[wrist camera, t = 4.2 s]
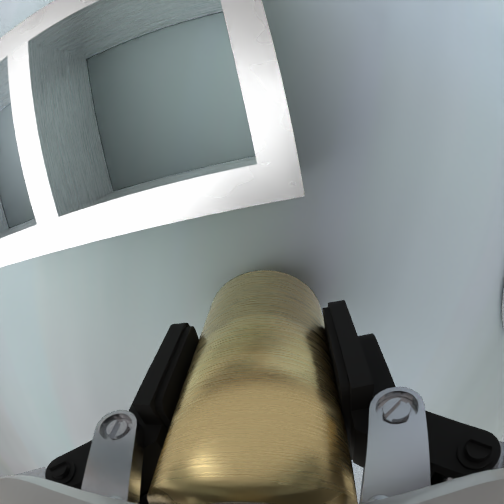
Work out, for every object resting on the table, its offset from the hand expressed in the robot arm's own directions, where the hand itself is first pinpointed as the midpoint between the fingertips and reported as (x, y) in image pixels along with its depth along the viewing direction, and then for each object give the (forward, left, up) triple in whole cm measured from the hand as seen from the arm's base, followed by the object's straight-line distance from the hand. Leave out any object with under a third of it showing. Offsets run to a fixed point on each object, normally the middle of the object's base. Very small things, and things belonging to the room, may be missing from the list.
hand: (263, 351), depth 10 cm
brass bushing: (0, 0, -2) cm, 2 cm away
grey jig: (+6, -9, -3) cm, 11 cm away
